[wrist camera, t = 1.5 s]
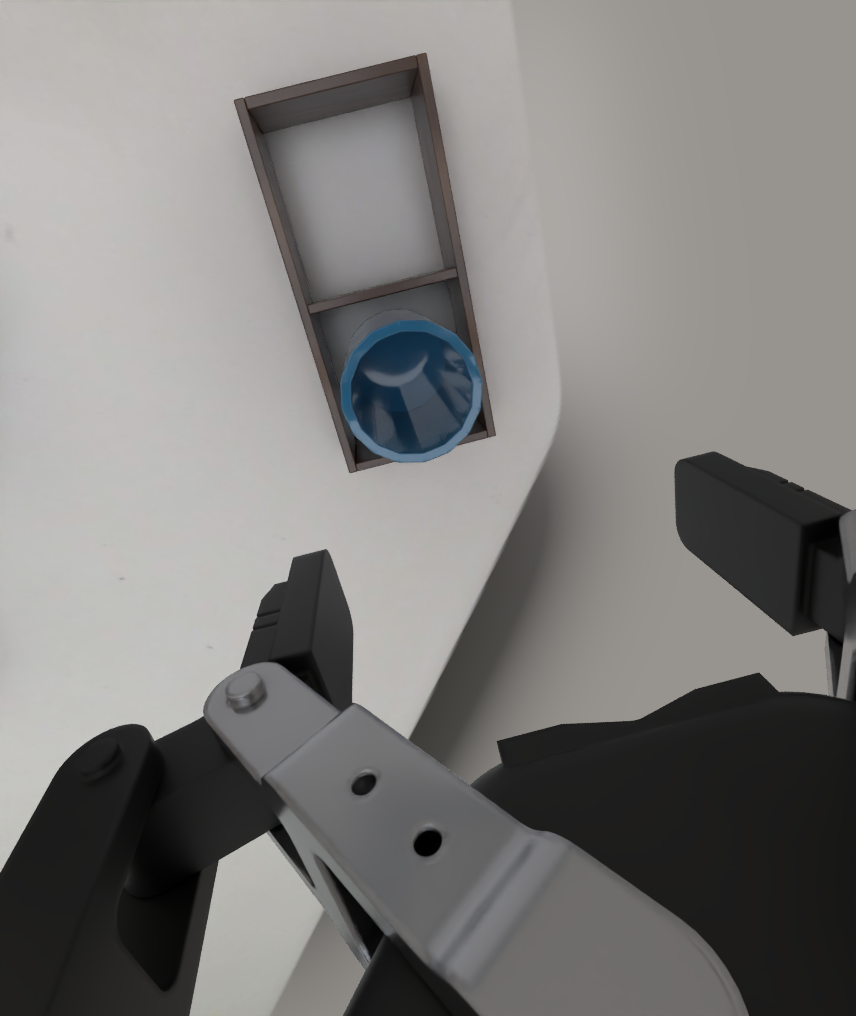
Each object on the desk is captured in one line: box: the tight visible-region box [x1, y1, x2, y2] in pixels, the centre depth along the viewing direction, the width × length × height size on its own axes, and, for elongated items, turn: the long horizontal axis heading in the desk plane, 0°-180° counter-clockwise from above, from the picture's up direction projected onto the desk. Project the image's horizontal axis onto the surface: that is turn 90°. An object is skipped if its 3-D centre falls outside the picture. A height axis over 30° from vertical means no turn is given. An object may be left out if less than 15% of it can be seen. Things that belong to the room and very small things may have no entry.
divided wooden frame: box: [234, 53, 496, 473], centre depth 24 cm, size 15×7×4 cm, turn 13°
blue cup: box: [340, 309, 483, 463], centre depth 24 cm, size 5×5×8 cm
